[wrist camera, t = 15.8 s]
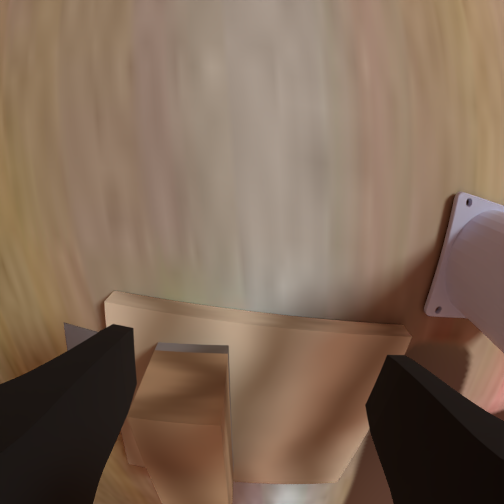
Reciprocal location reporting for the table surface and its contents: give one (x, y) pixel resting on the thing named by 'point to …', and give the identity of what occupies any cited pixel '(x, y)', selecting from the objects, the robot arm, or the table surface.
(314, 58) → the table surface
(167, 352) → the block
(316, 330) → the birch board
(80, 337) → the charcoal chip
